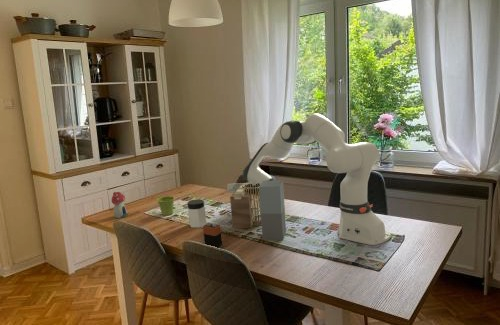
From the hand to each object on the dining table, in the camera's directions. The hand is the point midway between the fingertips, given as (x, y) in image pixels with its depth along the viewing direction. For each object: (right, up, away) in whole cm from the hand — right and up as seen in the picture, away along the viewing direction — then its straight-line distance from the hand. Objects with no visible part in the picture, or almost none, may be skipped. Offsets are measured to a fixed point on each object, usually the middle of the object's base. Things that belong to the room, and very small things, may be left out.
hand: (243, 184), depth 190 cm
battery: (-13, -25, -23) cm, 36 cm away
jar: (-23, -21, +3) cm, 31 cm away
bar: (-1, -4, -3) cm, 5 cm away
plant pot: (-42, -18, +23) cm, 51 cm away
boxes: (+7, -21, -9) cm, 24 cm away
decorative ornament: (-68, -19, +25) cm, 75 cm away
